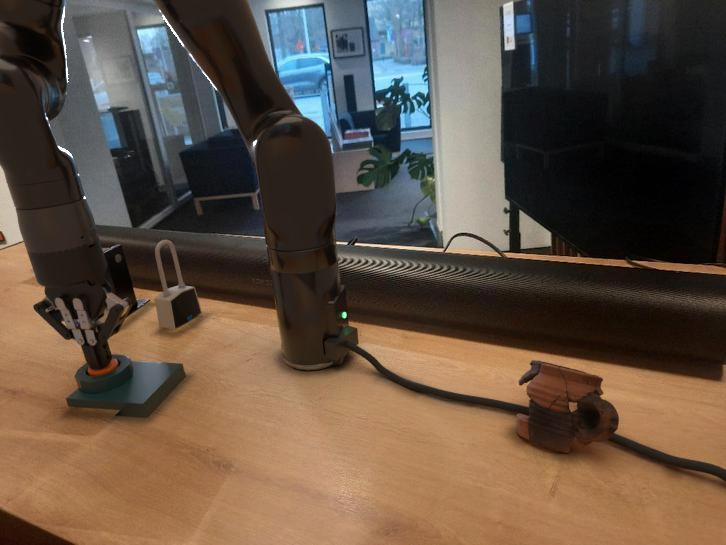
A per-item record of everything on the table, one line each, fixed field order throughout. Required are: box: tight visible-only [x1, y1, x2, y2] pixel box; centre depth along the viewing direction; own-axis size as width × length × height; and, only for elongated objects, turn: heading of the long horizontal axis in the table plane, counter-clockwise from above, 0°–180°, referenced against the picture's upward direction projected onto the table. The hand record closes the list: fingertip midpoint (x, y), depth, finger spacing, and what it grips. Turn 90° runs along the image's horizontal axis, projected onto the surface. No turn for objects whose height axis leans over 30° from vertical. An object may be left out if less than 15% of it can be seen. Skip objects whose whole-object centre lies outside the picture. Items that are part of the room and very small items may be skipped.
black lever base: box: [101, 244, 151, 319], centre depth 87 cm, size 9×7×13 cm
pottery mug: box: [516, 359, 620, 454], centre depth 52 cm, size 12×10×8 cm
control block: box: [65, 353, 187, 419], centre depth 65 cm, size 12×9×4 cm
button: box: [88, 359, 119, 376], centre depth 65 cm, size 4×4×2 cm
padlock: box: [154, 239, 203, 330], centre depth 81 cm, size 7×4×15 cm, turn 155°
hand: (101, 366), depth 64 cm, fingers closed
